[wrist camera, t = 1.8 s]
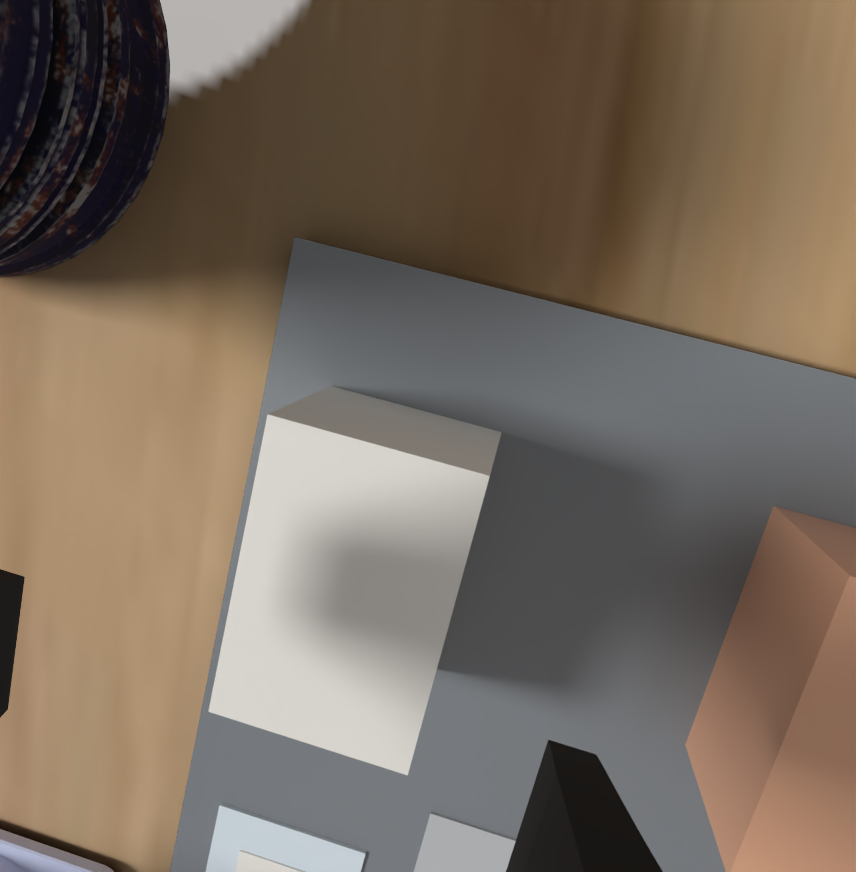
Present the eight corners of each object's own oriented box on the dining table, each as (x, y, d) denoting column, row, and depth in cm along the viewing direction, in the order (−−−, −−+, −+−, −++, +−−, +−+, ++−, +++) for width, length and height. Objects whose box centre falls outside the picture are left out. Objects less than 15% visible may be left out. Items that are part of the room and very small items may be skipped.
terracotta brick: (685, 744, 17) (728, 878, 13) (773, 506, 16) (850, 576, 12) (859, 798, 17) (956, 951, 13) (965, 558, 15) (1109, 647, 12)
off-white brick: (279, 621, 18) (208, 711, 14) (330, 385, 17) (267, 414, 13) (436, 668, 18) (407, 775, 14) (501, 431, 16) (490, 476, 12)
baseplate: (163, 937, 21) (150, 960, 20) (303, 238, 17) (292, 236, 16) (755, 1146, 20) (764, 1179, 19) (1082, 436, 15) (1109, 443, 14)
